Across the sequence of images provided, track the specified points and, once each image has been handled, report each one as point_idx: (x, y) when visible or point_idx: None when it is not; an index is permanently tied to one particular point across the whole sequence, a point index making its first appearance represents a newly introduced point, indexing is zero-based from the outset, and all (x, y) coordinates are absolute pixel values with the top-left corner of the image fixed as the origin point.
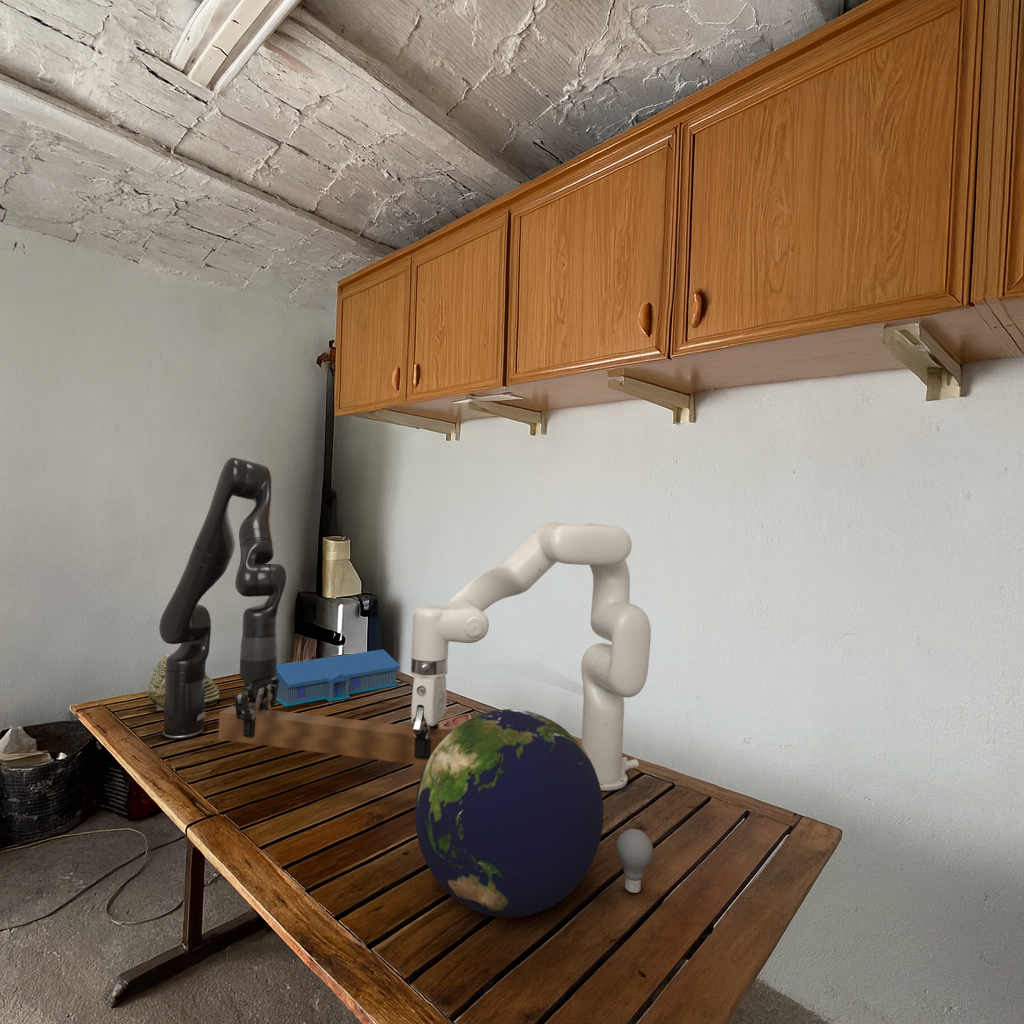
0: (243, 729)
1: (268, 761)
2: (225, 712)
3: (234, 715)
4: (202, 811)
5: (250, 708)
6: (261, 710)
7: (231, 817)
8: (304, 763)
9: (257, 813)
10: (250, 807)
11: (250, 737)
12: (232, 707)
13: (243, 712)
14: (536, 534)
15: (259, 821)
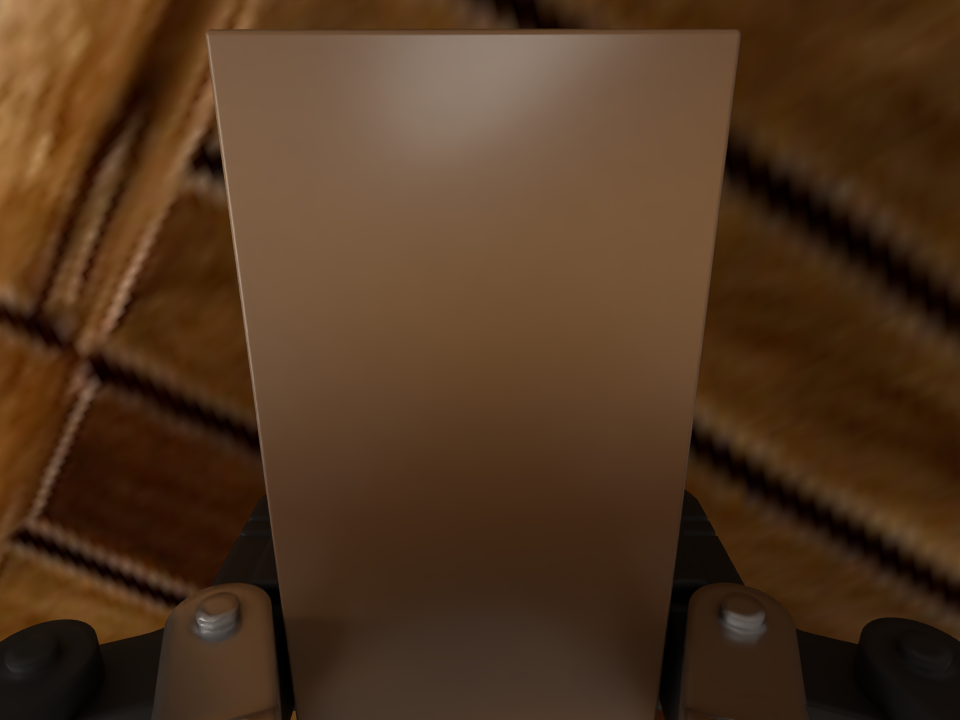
0: (247, 525)
1: (806, 229)
2: (254, 187)
3: (263, 406)
4: (57, 254)
5: (641, 507)
6: (585, 709)
7: (83, 437)
8: (803, 458)
9: (174, 526)
10: (210, 465)
11: None
12: (609, 125)
13: (155, 698)
14: None
15: (116, 571)
